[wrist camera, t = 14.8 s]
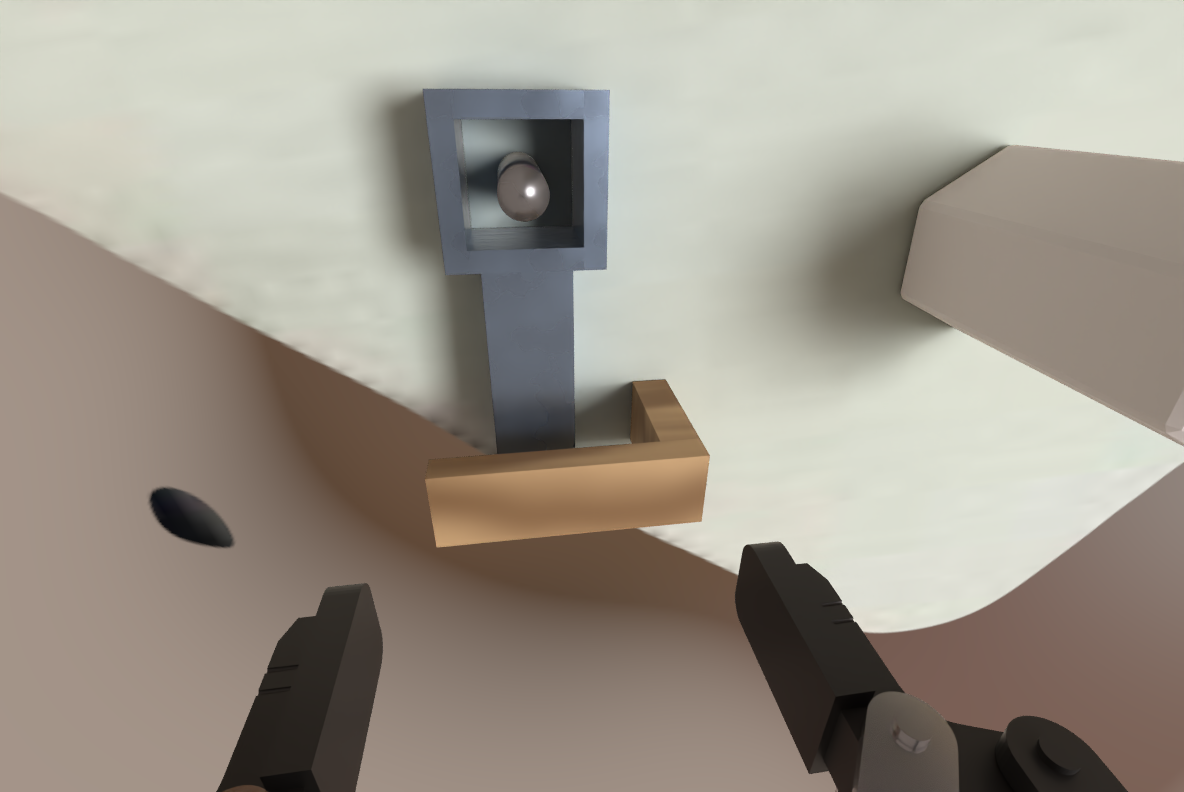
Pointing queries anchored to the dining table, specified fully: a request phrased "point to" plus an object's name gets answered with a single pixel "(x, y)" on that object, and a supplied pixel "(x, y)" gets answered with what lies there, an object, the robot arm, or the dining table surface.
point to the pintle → (521, 187)
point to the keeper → (577, 482)
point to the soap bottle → (1065, 272)
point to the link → (525, 257)
